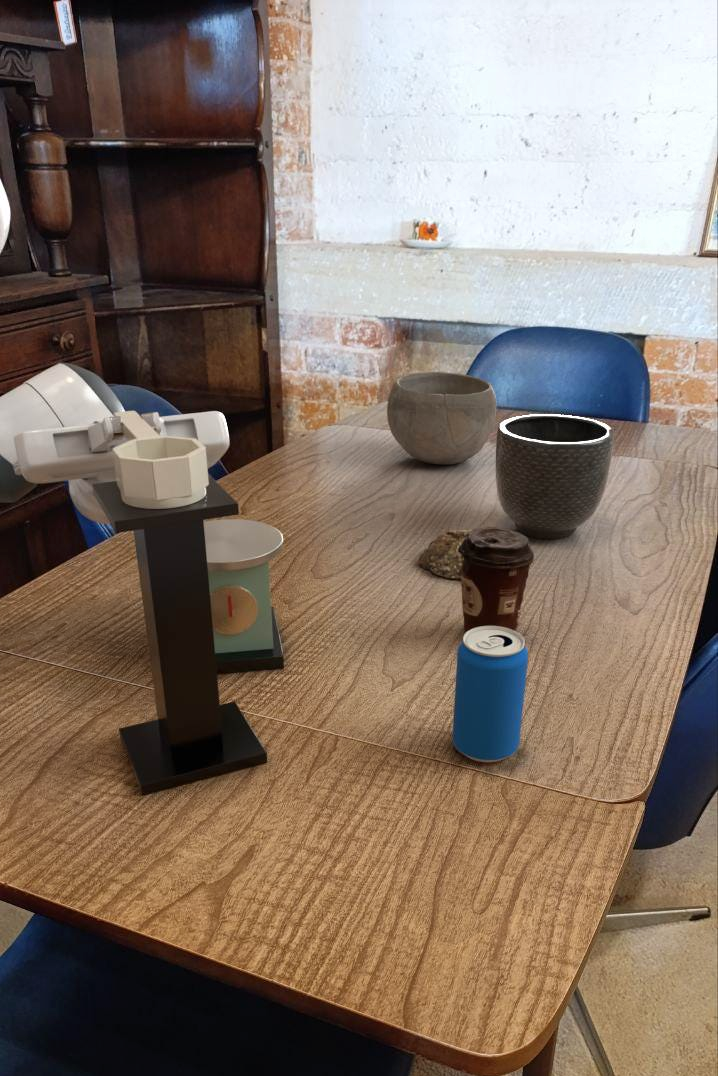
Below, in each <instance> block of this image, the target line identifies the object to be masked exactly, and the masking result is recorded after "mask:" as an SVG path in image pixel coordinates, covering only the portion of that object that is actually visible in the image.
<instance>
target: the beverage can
mask: <svg viewBox="0 0 718 1076" xmlns="http://www.w3.org/2000/svg"><path fill="white" fill-rule="evenodd" d="M525 644H526V641H525V638H524V637H523V636H522V634H521V633H519V632H517V630H515V631H514V630H511V629H508V628H504V627H499V626H482V627H477V628H473V629H471V630H469V631H468V632H466V633H465V635H463V638H462V641H461V642H460V643H459V645H458V647H457V653H456V654H457V656H456V670H455V687H454V701H453V702H454V704H453V719H452V720H453V721H452V737H451V739H452V744H453V746H454V747H455V749H456V750H457V751H458V752H459V753H461V754H462V755H464V756H465V757H467V758H468V759H470V760H473V761H476V762H478V763H479V762H480V763H496V762H500V761H503V760H505V759H508V758H509V757H512V755H514V754H515V753H516V752H517V750H518V749H519V746H520V740H521V730H522V722H523V721H522V719H523V710H524V701H525V691H526V683H527V682H526V681H527V671H528V662H529V652H528V649H527V647H526V645H525Z"/></svg>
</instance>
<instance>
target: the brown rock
mask: <svg viewBox="0 0 718 1076" xmlns="http://www.w3.org/2000/svg"><path fill="white" fill-rule="evenodd" d="M470 531H472V529H465V530H464V529H463V530H462V529H456V530H448V531H446V532H443V533H440V534H439V535H438V536H436V537H435V538H433V540H432V541H431V542H430V543H429V544H428V546H427V547H426V548H425V549H424V550H423V551H422V552H421V553H420V554H419V556H418V558H417V562H418V564H419V565H420V566H421V567H422V568H423V570H429V571H431V572H432V573H433V574H434V575H436V576H439V577H444V578H446V579H451V580H452V579H453V580H460V581H461V568H462V565H463V559H464V557H463V556H462V554H461V553H460V552H458V547H459V546H460V545H461V543H462V542H463V541H464V539H465V537H466V536H468V534H467V533H469V532H470Z"/></svg>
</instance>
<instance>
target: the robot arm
mask: <svg viewBox="0 0 718 1076" xmlns="http://www.w3.org/2000/svg"><path fill="white" fill-rule="evenodd" d="M10 226H11V206H10V201H9V198H8V195H7V192H6V190H5V187H4V185H3V182H2V179H1V178H0V254H2V252H3V249H4V247H5V245H6V242H7V239H8V236H9V232H10ZM125 411H126V410H125V409H124V407H123V405H122V403H121V402H120V400H119V399H118V397H117V396H116V394H115V393H114V391H113V390H112V389H111V387H109V386H108V384H107V383H106V382H105V381H104V379H102V378H101V377H100V376H99V375H97V374H96V373H94V372H92V371H90V370H88V369H86V368H84V367H81V366H78V365H76V364H72V363H69V362H58V363H57V364H55V365H53V366H51V367H49V368H47V369H45V370H43V371H42V372H39V373H38V374H35V376H32V377H31V378H29V379H28V380H26V381H24V382H23V383H22V384H21V385H19V386H17V387H15V388H14V389H12V390H10V391H8V392H6V393H4V394H3V395H2V396H0V503H6V504H7V503H9V504H10V503H11V504H14V503H15V504H16V503H17V501H19V500H20V499H21V498H23V497H24V496H25V495H27V494H28V493H30V492H31V491H32V490H33V489H35V488H36V487H37V486H38V484H50V483H51V484H52V483H60V482H68V490H69V495H70V497H71V501H72V503H73V505H74V506H75V508H76V509H77V511H78V512H79V513H80V514H81V515H82V516H83V517H85V518H86V519H87V520H90V521H91V522H94V523H98V524H103V525H111V523H110V522H109V520H108V518H107V516H106V515H105V513H104V511H103V510H102V508H101V506H100V505H99V503H98V501H97V499H96V498H95V496H94V494H93V487H92V484H97V483H105V482H112V481H117V479H116V471H115V464H114V456H113V448H115V447H117V446H119V445H121V444H124V443H126V442H128V441H127V439H126V438H125V437H124V430H123V426H122V425H121V423H122V420H121V417H120V416H114V413H115V412H125ZM140 416H141V417H142V418H143V419H144V420H145V421H146V422H147V423H148V424H149V425H150V426H151V427H152V428H153V429H154V430H155V431H156V432H157V433H158V434H159V435H160V436H175V437H184V438H194V439H197V440H198V441H199V442H200V443H201V444H202V445H204V446H205V447H206V457H207V469H208V470H209V469H210V468H211V467H213V466H214V465H215V464H217V463H218V461H220V460H221V458H222V457H223V456H224V455H225V454H226V452H227V451H228V449H229V447H230V435H229V430H228V425H227V421H226V418H225V415H224V414H223V412H220V411H217V410H211V411H210V410H209V411H202V412H193V413H183V414H173V415H163V416H160V415H159V412H158V411H154V412H147V413H146V412H145V413H141V415H140Z"/></svg>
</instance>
